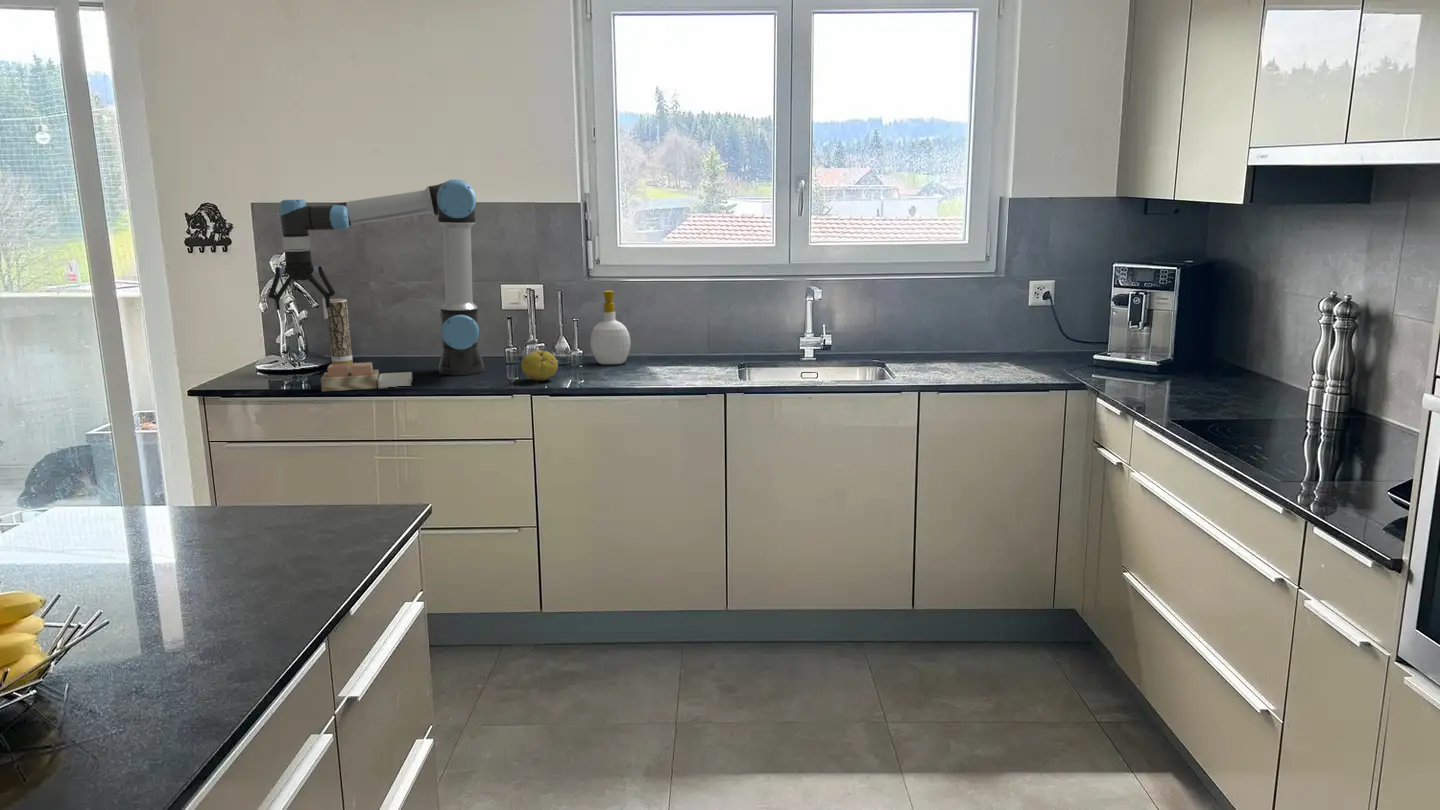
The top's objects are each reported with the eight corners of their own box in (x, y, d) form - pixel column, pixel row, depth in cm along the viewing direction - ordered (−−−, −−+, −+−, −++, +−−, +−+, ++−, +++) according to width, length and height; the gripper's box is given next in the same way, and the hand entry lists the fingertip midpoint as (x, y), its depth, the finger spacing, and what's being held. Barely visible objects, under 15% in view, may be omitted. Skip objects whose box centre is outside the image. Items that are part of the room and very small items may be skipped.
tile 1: (350, 372, 326) (349, 363, 326) (348, 376, 321) (347, 366, 320) (330, 373, 325) (329, 364, 324) (328, 377, 319) (327, 367, 319)
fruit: (521, 378, 334) (519, 349, 332) (557, 376, 337) (555, 347, 334) (522, 385, 324) (521, 354, 321) (559, 383, 326) (558, 352, 324)
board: (379, 381, 332) (378, 369, 331) (376, 388, 321) (375, 376, 320) (326, 384, 328) (325, 372, 327) (321, 391, 317) (320, 379, 316)
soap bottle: (632, 361, 363) (630, 288, 357) (629, 365, 354) (627, 291, 348) (593, 361, 363) (590, 289, 357) (589, 365, 355) (586, 292, 349)
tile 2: (372, 371, 328) (372, 362, 327) (371, 374, 322) (370, 365, 322) (353, 372, 327) (352, 363, 326) (351, 375, 321) (350, 366, 320)
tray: (412, 379, 335) (411, 371, 334) (410, 386, 323) (410, 378, 323) (381, 381, 332) (380, 373, 332) (378, 388, 321) (377, 380, 320)
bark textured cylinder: (346, 373, 345) (339, 301, 339) (328, 373, 346) (321, 300, 340) (357, 370, 351) (350, 298, 346) (339, 369, 353) (332, 298, 347)
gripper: (340, 248, 318) (346, 315, 323) (257, 250, 312) (265, 319, 317) (337, 249, 311) (344, 319, 316) (252, 252, 305) (261, 322, 310)
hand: (304, 319), depth 317 cm, fingers open, 12 cm apart
